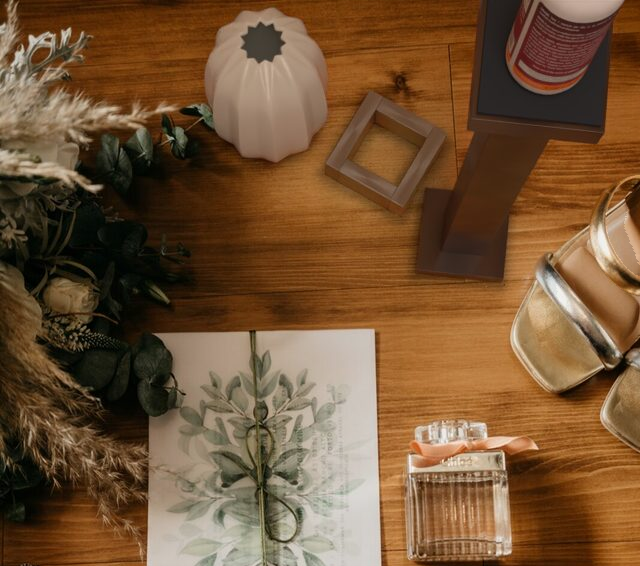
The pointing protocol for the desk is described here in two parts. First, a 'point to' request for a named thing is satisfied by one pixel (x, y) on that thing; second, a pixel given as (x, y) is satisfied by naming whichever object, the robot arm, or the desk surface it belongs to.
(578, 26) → the pill bottle
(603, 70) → the mat
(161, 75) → the desk surface
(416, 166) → the stand
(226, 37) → the vase
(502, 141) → the plant stand
